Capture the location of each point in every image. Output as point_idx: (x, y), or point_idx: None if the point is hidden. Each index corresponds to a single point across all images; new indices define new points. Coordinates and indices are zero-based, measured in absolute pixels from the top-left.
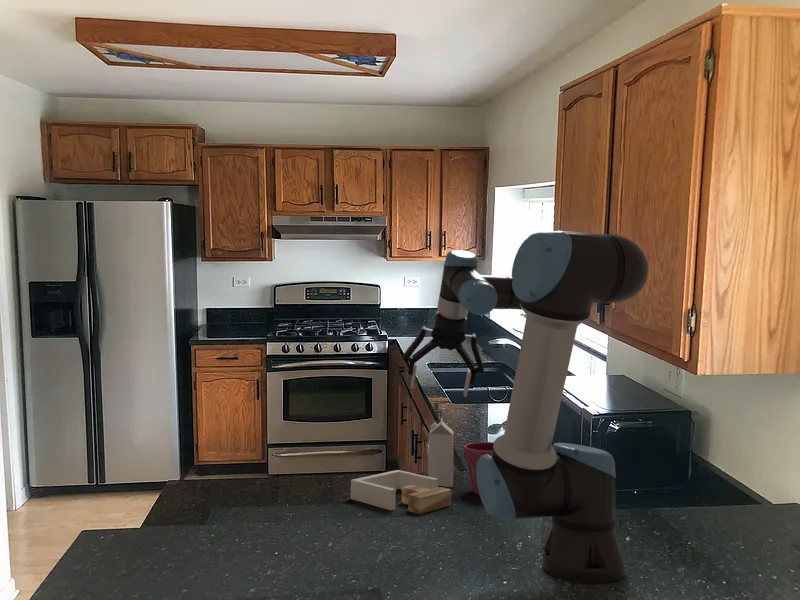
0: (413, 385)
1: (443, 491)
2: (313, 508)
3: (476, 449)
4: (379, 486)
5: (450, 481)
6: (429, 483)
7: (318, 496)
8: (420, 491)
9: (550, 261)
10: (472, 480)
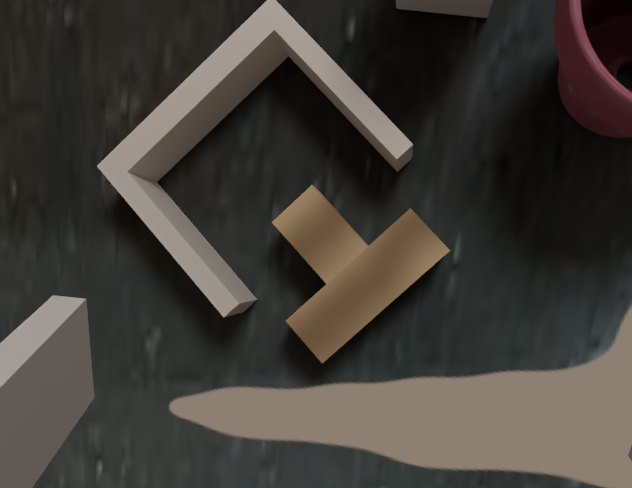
0: (73, 423)
1: (415, 278)
2: (27, 280)
3: None
4: (186, 264)
5: (482, 8)
6: (380, 145)
7: (38, 146)
8: (331, 279)
9: None
10: (563, 85)
